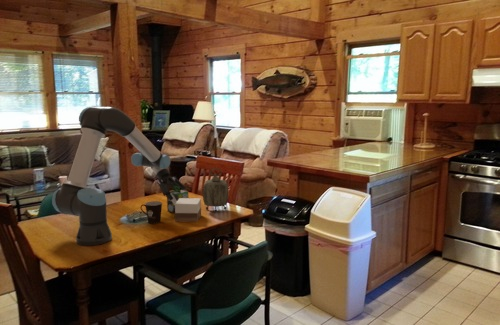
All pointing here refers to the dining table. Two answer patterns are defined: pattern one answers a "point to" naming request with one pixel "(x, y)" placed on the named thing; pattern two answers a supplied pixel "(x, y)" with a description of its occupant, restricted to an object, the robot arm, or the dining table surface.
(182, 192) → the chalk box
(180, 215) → the grey square block
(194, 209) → the cream block
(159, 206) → the coffee mug
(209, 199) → the olive tall rounded piece
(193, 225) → the dining table surface
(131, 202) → the dining table surface
